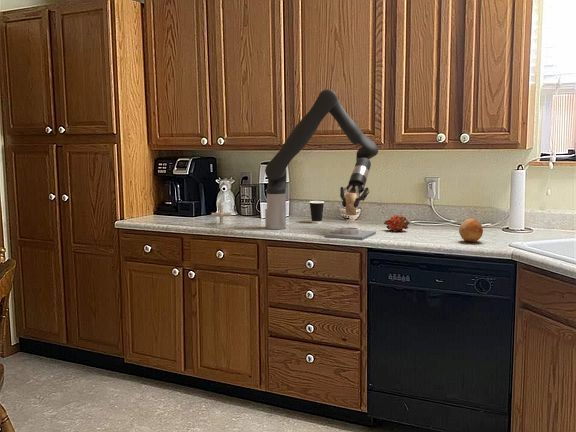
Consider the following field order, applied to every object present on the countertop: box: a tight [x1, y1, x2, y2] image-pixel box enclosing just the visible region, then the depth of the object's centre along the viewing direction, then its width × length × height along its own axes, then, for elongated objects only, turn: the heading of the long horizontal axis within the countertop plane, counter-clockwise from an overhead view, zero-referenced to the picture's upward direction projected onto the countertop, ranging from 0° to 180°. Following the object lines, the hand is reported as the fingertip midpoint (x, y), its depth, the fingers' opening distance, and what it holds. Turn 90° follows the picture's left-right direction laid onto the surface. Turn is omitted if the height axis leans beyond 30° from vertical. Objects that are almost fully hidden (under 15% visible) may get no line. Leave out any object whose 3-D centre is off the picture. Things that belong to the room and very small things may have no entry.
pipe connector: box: [211, 204, 232, 225], centre depth 312 cm, size 10×10×10 cm
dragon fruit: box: [383, 214, 410, 232], centre depth 285 cm, size 8×8×12 cm
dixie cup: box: [309, 200, 325, 224], centre depth 314 cm, size 8×8×11 cm
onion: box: [458, 217, 484, 243], centre depth 254 cm, size 10×10×10 cm
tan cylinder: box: [345, 191, 357, 216], centre depth 272 cm, size 5×5×10 cm
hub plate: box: [324, 226, 377, 241], centre depth 273 cm, size 18×18×3 cm
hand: (349, 206), depth 270 cm, fingers closed on tan cylinder, 4 cm apart
